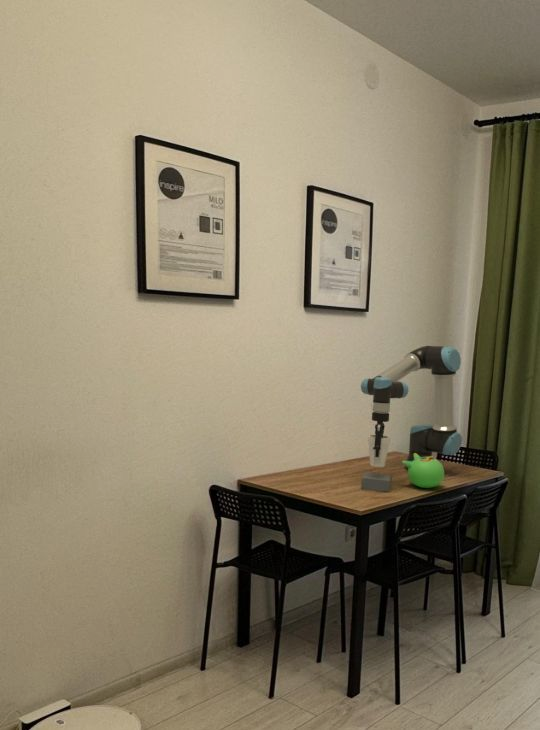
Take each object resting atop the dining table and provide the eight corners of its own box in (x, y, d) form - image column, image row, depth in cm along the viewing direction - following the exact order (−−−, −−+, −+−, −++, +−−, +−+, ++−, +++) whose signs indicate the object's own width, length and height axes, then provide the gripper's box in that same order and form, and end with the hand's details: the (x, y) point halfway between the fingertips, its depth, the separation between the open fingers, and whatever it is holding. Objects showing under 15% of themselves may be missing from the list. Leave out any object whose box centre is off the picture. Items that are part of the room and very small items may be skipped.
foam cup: (384, 463, 284) (385, 435, 283) (391, 468, 274) (392, 438, 274) (363, 463, 282) (365, 434, 282) (370, 467, 273) (372, 438, 272)
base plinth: (364, 483, 286) (364, 472, 286) (390, 486, 283) (391, 475, 283) (361, 489, 275) (361, 477, 274) (388, 492, 272) (389, 480, 271)
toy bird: (436, 494, 273) (438, 460, 272) (399, 487, 281) (401, 455, 281) (447, 486, 288) (449, 455, 288) (412, 480, 297) (414, 450, 296)
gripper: (374, 408, 289) (371, 457, 290) (369, 414, 268) (366, 465, 269) (390, 410, 287) (387, 458, 288) (387, 415, 266) (384, 467, 267)
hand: (377, 462), depth 278 cm, fingers closed on foam cup, 9 cm apart
